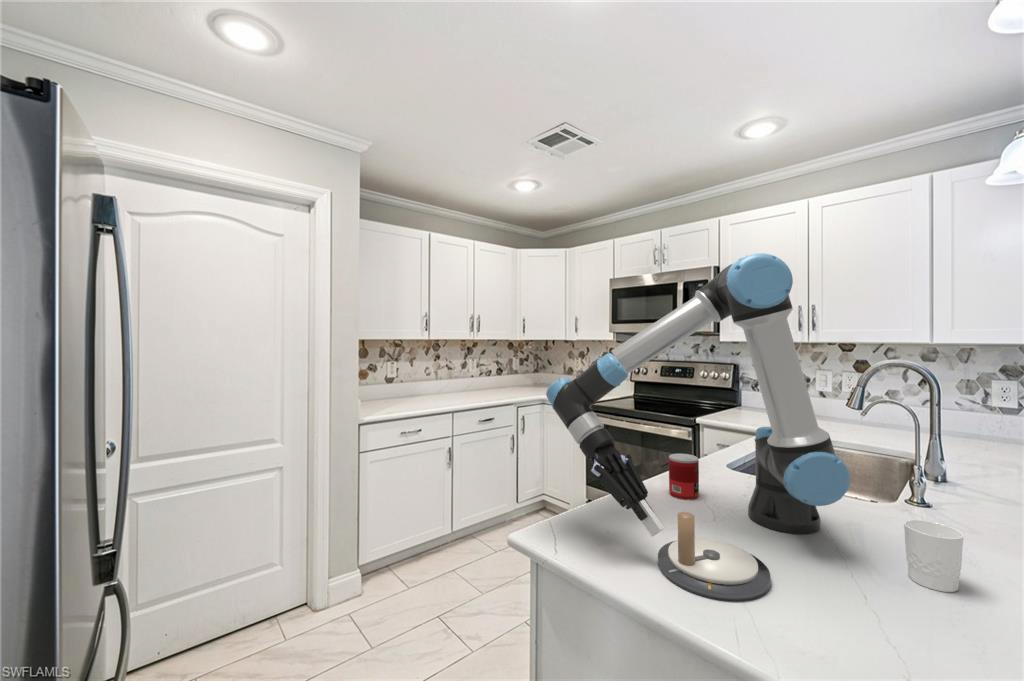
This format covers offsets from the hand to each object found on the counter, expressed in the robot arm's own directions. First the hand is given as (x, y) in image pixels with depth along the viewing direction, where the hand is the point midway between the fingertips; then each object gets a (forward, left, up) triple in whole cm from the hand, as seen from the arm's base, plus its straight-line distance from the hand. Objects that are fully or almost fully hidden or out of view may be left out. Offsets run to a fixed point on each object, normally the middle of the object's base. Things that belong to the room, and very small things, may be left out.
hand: (658, 532), depth 88 cm
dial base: (-10, +1, -7) cm, 12 cm away
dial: (-10, +1, -5) cm, 11 cm away
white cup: (-49, 0, -7) cm, 49 cm away
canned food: (-14, -40, -7) cm, 43 cm away
